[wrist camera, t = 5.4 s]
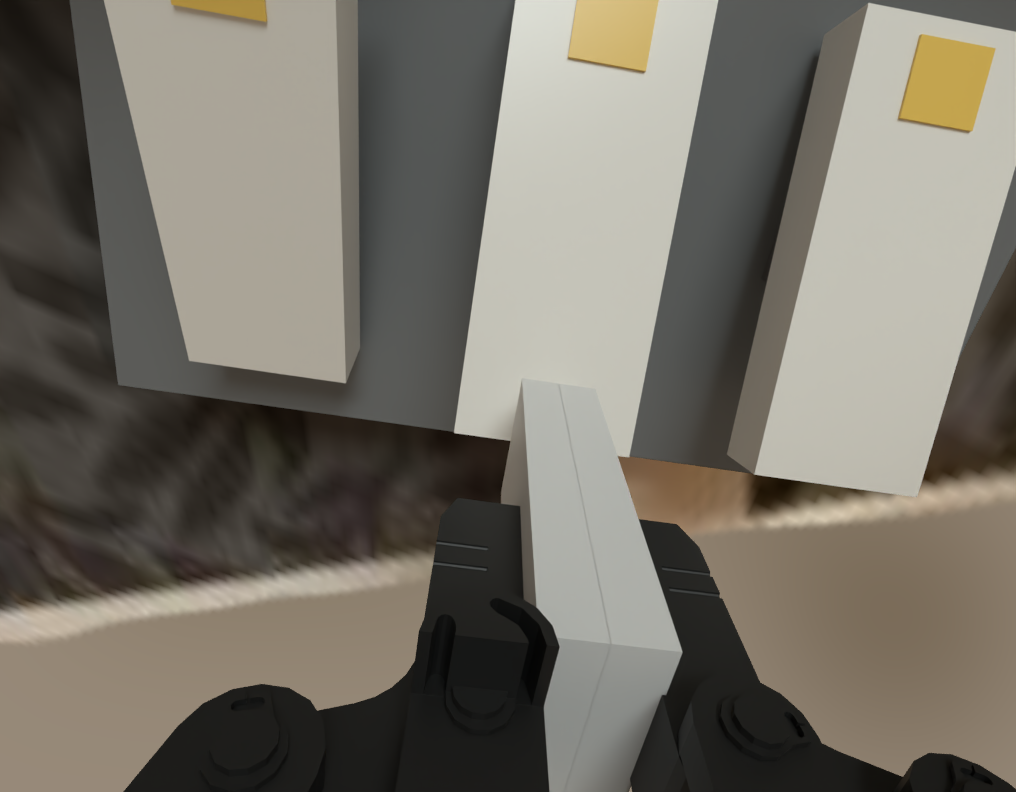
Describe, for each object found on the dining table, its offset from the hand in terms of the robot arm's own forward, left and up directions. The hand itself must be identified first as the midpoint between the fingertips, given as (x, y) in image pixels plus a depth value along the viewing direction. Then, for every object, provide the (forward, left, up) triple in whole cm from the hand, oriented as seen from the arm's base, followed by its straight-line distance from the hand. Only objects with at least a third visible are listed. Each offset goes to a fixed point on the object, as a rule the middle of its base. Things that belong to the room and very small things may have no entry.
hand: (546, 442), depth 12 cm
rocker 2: (-4, 0, -3) cm, 5 cm away
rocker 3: (-4, +7, -3) cm, 9 cm away
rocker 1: (-4, -7, -3) cm, 9 cm away
